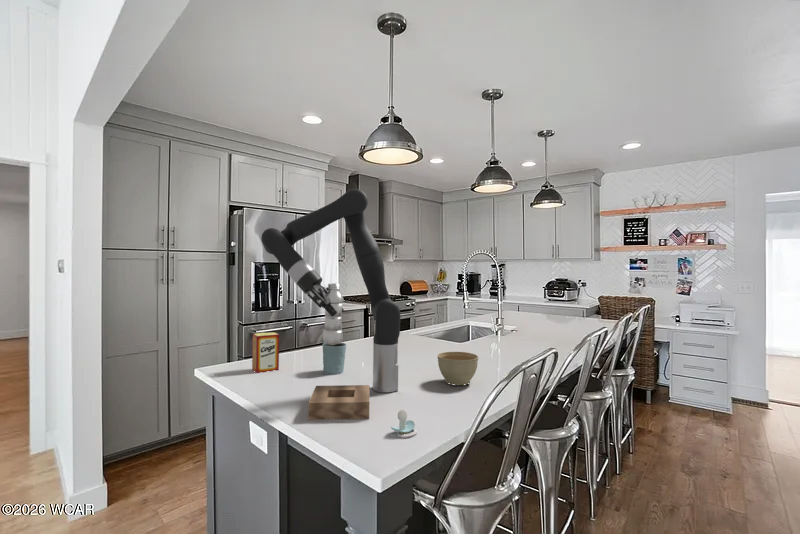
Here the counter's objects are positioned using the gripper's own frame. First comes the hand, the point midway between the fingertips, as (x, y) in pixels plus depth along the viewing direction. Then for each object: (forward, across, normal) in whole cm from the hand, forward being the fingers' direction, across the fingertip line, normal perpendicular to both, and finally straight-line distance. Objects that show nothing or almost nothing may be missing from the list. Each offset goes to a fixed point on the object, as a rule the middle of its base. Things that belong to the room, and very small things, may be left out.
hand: (338, 313), depth 128 cm
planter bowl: (+48, +34, -5) cm, 60 cm away
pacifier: (+39, -17, +3) cm, 43 cm away
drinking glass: (+11, +39, +32) cm, 52 cm away
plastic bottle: (+6, 0, +9) cm, 11 cm away
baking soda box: (-10, +35, +54) cm, 65 cm away
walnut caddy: (+23, -3, +20) cm, 30 cm away
